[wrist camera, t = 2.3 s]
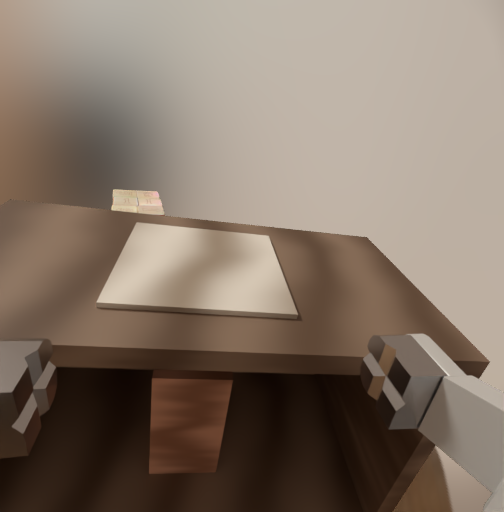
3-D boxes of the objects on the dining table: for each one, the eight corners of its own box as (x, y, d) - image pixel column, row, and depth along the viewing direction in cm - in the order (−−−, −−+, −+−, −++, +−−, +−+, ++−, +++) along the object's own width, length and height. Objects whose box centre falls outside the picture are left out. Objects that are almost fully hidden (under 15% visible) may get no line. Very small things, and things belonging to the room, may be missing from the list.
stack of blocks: (116, 239, 59) (114, 170, 54) (153, 239, 61) (154, 173, 56) (112, 314, 42) (108, 223, 36) (163, 310, 44) (167, 224, 38)
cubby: (-76, 559, 20) (-216, 327, 12) (39, 365, 33) (9, 195, 25) (379, 531, 25) (492, 357, 17) (319, 373, 38) (367, 234, 30)
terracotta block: (148, 473, 25) (152, 378, 20) (158, 414, 29) (162, 325, 25) (215, 472, 26) (233, 380, 21) (214, 414, 30) (228, 328, 26)
